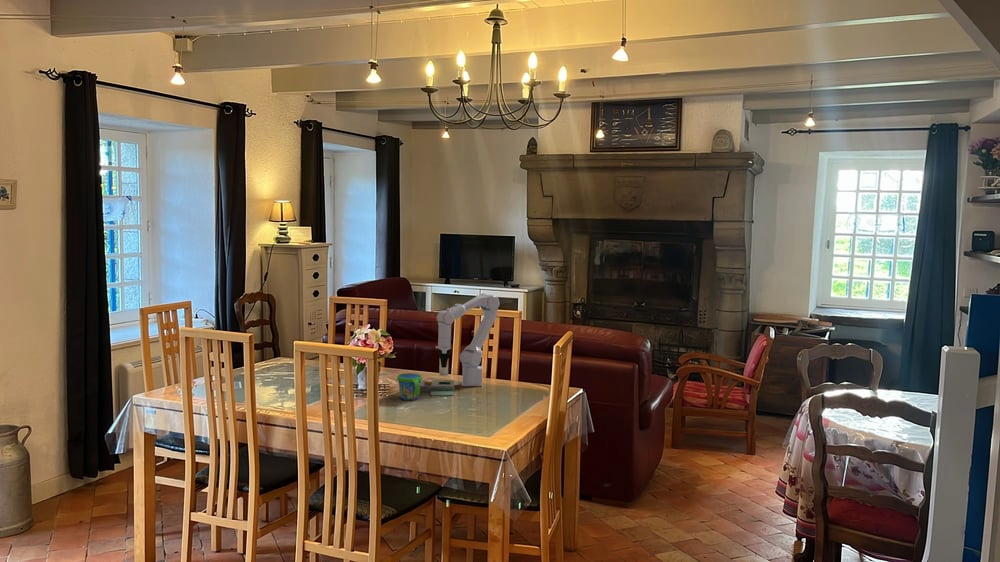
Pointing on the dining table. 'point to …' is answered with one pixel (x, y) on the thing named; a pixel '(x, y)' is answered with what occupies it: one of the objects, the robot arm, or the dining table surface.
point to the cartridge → (443, 370)
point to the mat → (441, 393)
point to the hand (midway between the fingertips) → (443, 366)
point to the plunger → (427, 381)
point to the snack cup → (409, 386)
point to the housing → (438, 386)
